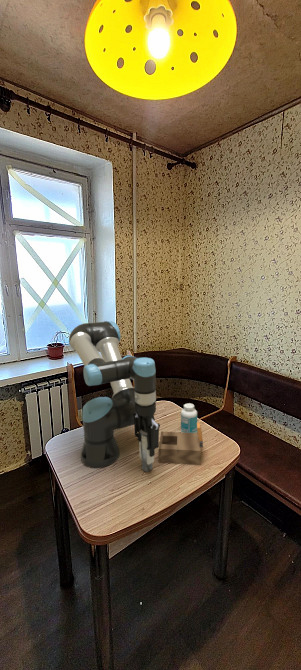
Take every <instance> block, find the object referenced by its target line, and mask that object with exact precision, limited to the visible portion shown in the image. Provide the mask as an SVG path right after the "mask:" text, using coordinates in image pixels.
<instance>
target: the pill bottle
mask: <svg viewBox="0 0 301 670" xmlns="http://www.w3.org/2000/svg"><path fill="white" fill-rule="evenodd" d="M197 423H198V410H196V408H195V405H194V404H193V403H190V402H189V403H185V404H183V408H182V409H181V411H180V432H183V433H198V429H197Z"/></svg>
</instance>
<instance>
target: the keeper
mask: <svg viewBox="0 0 301 670" xmlns="http://www.w3.org/2000/svg"><path fill="white" fill-rule="evenodd" d="M197 433H198V435H199V440H200V441H203V442H204V440H203V432H202V427H201V422H200V421H199V422H198V421H197Z"/></svg>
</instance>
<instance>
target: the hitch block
mask: <svg viewBox="0 0 301 670" xmlns="http://www.w3.org/2000/svg"><path fill="white" fill-rule="evenodd" d="M203 447H204V440H203V441H200V440H199V435H198V432H197V433H183V432H181V431H180V432H178V431H177V432H176V431H162V430H161V431H160V435H159V447H158V463H163V464H177V465H179V464H181V465H193V466H194V465H195V466H197V465H198V466H201V465H202V464H201V463H202V461H201V458H202V454H201V453H202V450H201V449H202V448H203Z"/></svg>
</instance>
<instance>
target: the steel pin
mask: <svg viewBox="0 0 301 670" xmlns="http://www.w3.org/2000/svg"><path fill="white" fill-rule="evenodd" d="M139 434H140V435H141V458H140V459H141V470H142V471H144V472H151V471H152V470H153V463H151V464H149V465H148V464H147V447H148V442H147V433H146V431H145V430H144V428H141V429H140V428H139Z"/></svg>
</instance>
